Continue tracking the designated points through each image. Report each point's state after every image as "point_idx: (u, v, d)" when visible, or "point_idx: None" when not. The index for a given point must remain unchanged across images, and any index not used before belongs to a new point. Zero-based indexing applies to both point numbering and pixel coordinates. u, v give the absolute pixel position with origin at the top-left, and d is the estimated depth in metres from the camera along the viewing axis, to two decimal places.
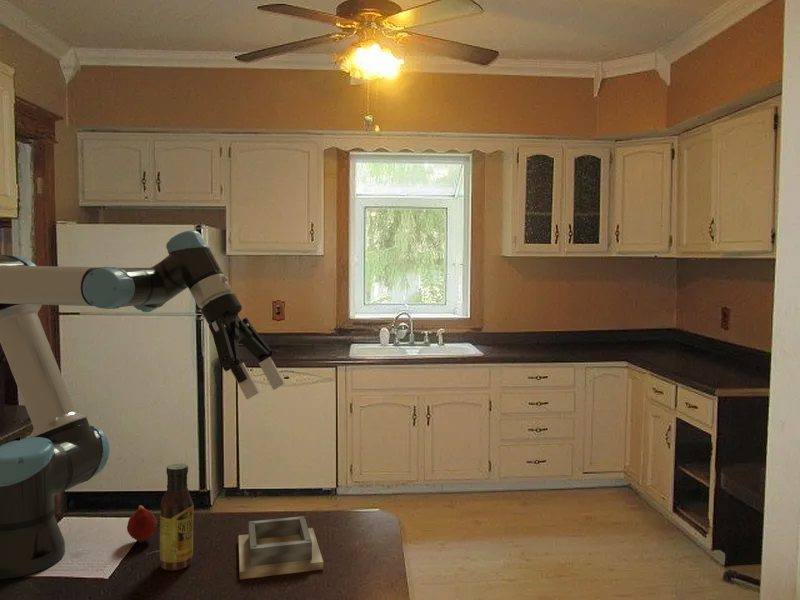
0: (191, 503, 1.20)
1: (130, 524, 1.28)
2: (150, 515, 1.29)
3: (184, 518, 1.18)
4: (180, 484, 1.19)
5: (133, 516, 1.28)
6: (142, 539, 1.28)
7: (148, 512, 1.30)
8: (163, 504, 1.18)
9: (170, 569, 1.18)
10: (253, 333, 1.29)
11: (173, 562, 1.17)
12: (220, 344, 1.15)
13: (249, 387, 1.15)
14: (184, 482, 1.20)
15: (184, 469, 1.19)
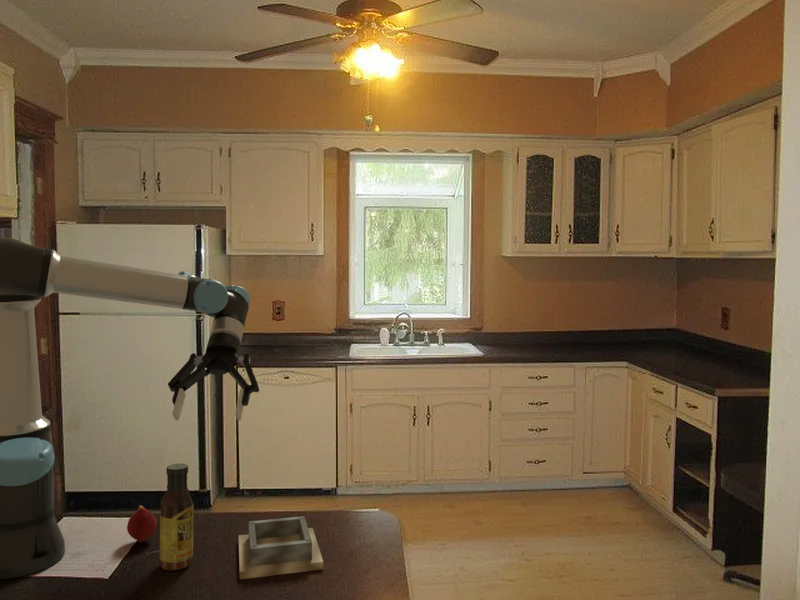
0: (191, 503, 1.20)
1: (130, 524, 1.28)
2: (150, 515, 1.29)
3: (184, 518, 1.18)
4: (180, 484, 1.19)
5: (133, 516, 1.28)
6: (142, 539, 1.28)
7: (148, 512, 1.30)
8: (163, 504, 1.18)
9: (170, 569, 1.18)
10: (191, 371, 1.41)
11: (173, 562, 1.17)
12: None
13: (241, 411, 1.34)
14: (184, 482, 1.20)
15: (184, 469, 1.19)
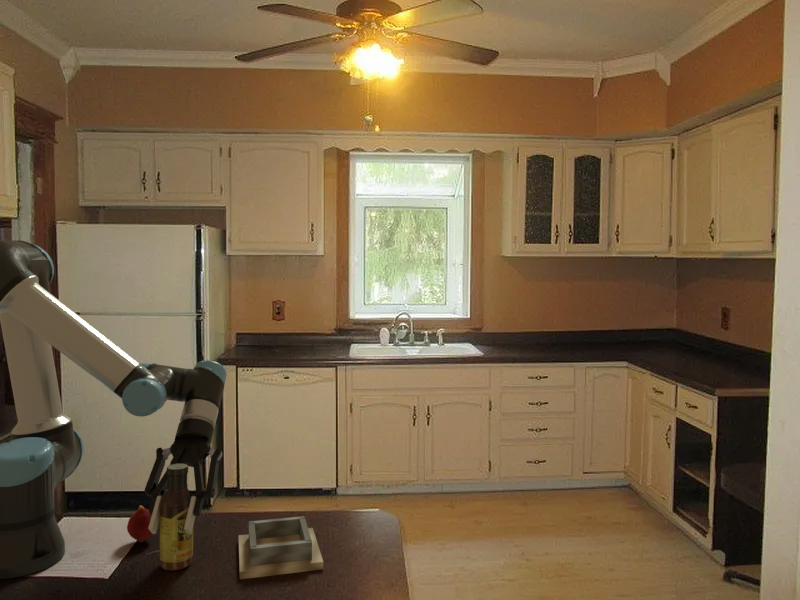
0: None
1: (130, 524, 1.28)
2: (150, 515, 1.29)
3: (184, 518, 1.18)
4: (180, 484, 1.19)
5: (133, 516, 1.28)
6: (142, 539, 1.28)
7: (148, 512, 1.30)
8: (163, 504, 1.18)
9: (170, 569, 1.18)
10: (162, 468, 1.26)
11: (173, 562, 1.17)
12: (215, 474, 1.24)
13: (191, 523, 1.18)
14: (184, 482, 1.20)
15: (184, 469, 1.19)
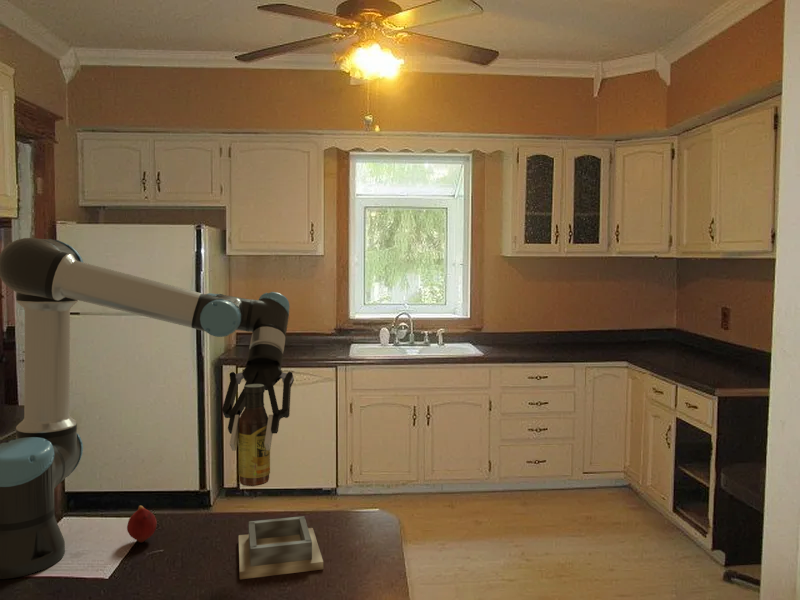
0: None
1: (130, 524, 1.28)
2: (150, 515, 1.29)
3: (263, 435, 1.20)
4: (258, 402, 1.21)
5: (133, 516, 1.28)
6: (142, 539, 1.28)
7: (148, 512, 1.30)
8: (242, 421, 1.20)
9: (250, 484, 1.20)
10: (236, 391, 1.28)
11: (253, 477, 1.20)
12: (289, 396, 1.27)
13: (270, 439, 1.20)
14: (261, 400, 1.22)
15: (261, 387, 1.21)
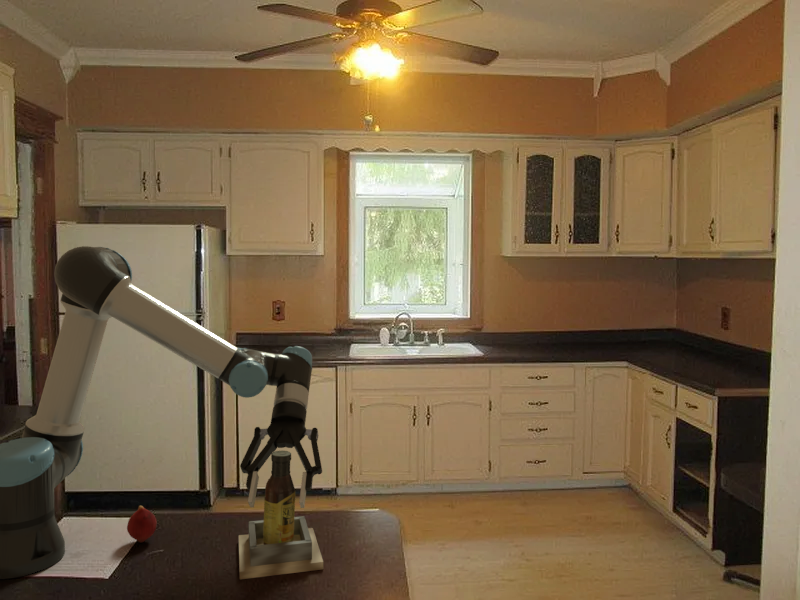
0: (294, 489, 1.24)
1: (130, 524, 1.28)
2: (150, 515, 1.29)
3: (288, 504, 1.22)
4: (285, 470, 1.23)
5: (133, 516, 1.28)
6: (142, 539, 1.28)
7: (148, 512, 1.30)
8: (269, 489, 1.22)
9: None
10: (258, 447, 1.31)
11: None
12: None
13: (304, 497, 1.23)
14: (288, 469, 1.24)
15: (288, 456, 1.23)
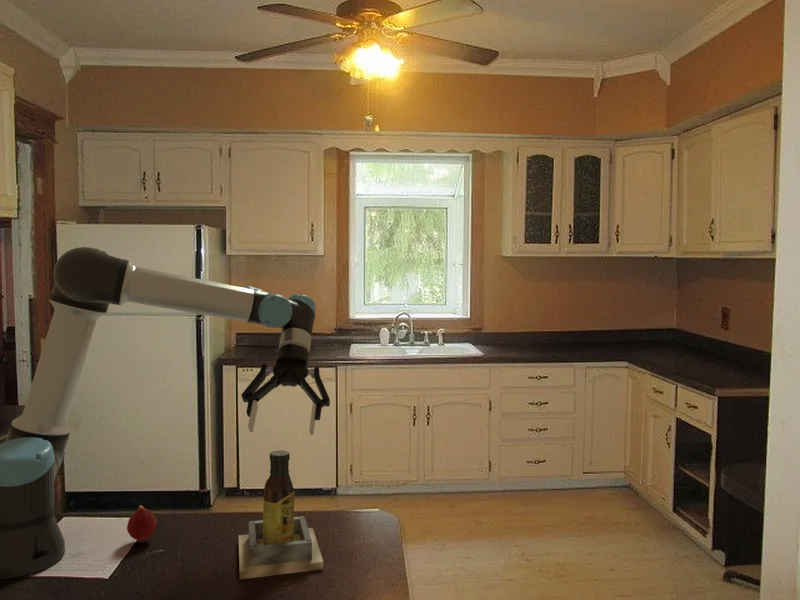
0: (293, 488, 1.25)
1: (130, 524, 1.28)
2: (150, 515, 1.29)
3: (288, 503, 1.23)
4: (283, 470, 1.23)
5: (133, 516, 1.28)
6: (142, 539, 1.28)
7: (148, 512, 1.30)
8: (268, 489, 1.23)
9: None
10: (262, 382, 1.44)
11: None
12: None
13: (314, 425, 1.37)
14: (287, 468, 1.24)
15: (287, 455, 1.24)
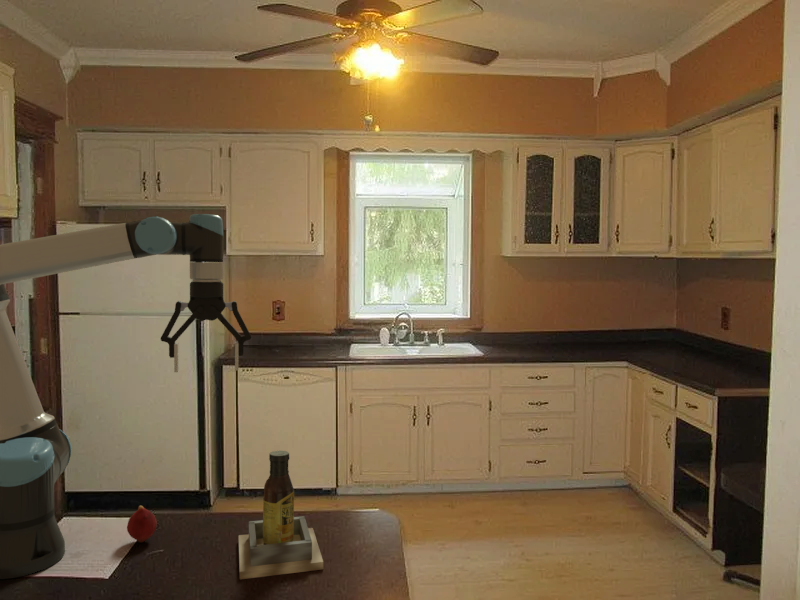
0: (293, 488, 1.25)
1: (130, 524, 1.28)
2: (150, 515, 1.29)
3: (287, 503, 1.23)
4: (283, 470, 1.23)
5: (133, 516, 1.28)
6: (142, 539, 1.28)
7: (148, 512, 1.30)
8: (267, 489, 1.23)
9: None
10: None
11: None
12: (243, 321, 1.45)
13: None
14: (286, 468, 1.24)
15: (286, 455, 1.24)
